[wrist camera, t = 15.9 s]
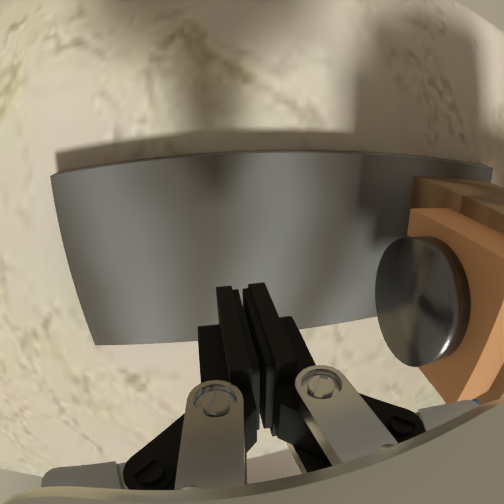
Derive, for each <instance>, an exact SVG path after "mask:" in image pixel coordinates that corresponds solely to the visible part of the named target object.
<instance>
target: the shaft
mask: <svg viewBox="0 0 504 504" xmlns="http://www.w3.org/2000/svg"><path fill="white" fill-rule="evenodd" d="M375 303H376V311H377V317H378V321H379V325H380V329H381V332H382V334H383V337H384V339H385V341H386V343H387V345H388V347H389V349H390V350H391V352H392V353H393V354H394V355H395V357H396V358H397V359H398V360H400V361H401V362H402V363H404V364H406V365H408V366H412V367H419V366H423V365H426V364H429V363H432V362H434V361H437V360H440V359H443V358H445V357H447V356H449V355H450V354H452V353H453V352H454V351H455V350H456V349H457V348H458V346H459V345H460V344H461V342H462V340H463V338H464V336H465V334H466V331H467V328H468V324H469V320H470V312H471V297H470V288H469V283H468V279H467V276H466V273H465V270H464V268H463V266H462V263H461V262H460V260H459V258H458V256H457V255H456V254H455V252H454V251H453V250H452V249H451V248H450V247H449V246H448V245H447V244H446V243H445V242H443V241H442V240H440V239H438V238H435V237H431V236H422V237H409V238H400V239H397V240H395V241H394V242H392V243H391V244H390V245H389V246H388V247H387V248H386V250H385V251H384V253H383V255H382V257H381V260H380V262H379V265H378V269H377V274H376V282H375Z"/></svg>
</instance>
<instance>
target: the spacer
mask: <svg viewBox="0 0 504 504" xmlns="http://www.w3.org/2000/svg"><path fill="white" fill-rule="evenodd" d="M407 235H409V236H410V237H422V236H431V237H435V238H438V239H440V240H442V241H443V242H445V243H446V244H447V245H448V246H449V247H450V248H451V249H452V250H453V251H454V252H455V254H456V255H457V256H458V258H459V260H460V262H461V263H462V266H463V268H464V270H465V273H466V276H467V279H468V283H469V288H470V297H471V312H470V320H469V324H468V328H467V331H466V334H465V336H464V338H463V340H462V342H461V344H460V345H459V346H458V348H457V349H456V350H455V351H454V352H453V353H452V354H450V355H449V356H447V357H445V358H443V359H440V360H437V361H434V362H432V363H429V364H426V365H423V366H419V367H418V368H419V369H420V370H421V371H422V373H423V374H424V375H425V376H426V378H427V379H428V380H429V381H430V383H431V384H432V385H433V387H434V388H435V389H436V390H437V392H438V393H439V394H440V396H441V397H442V398H443V400H444V401H445V402H446V403H447V404H448V403H453V402H457V401H462V400H472V399H474V398H476V397H478V396H480V395H481V394H483V393H485V392H487V391H488V390H489V389H490V387H491V385H492V384H493V382H494V380H495V378H496V376H497V375H498V373H499V371H500V369H501V367H502V365H503V363H504V235H503V234H502V233H500V232H498V231H496V230H494V229H492V228H490V227H488V226H486V225H484V224H482V223H480V222H477V221H475V220H473V219H471V218H469V217H467V216H465V215H463V214H460V213H458V212H456V211H454V210H452V209H449V208H415V209H410V217H409V224H408V232H407Z"/></svg>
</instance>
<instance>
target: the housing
mask: <svg viewBox="0 0 504 504" xmlns="http://www.w3.org/2000/svg"><path fill="white" fill-rule="evenodd" d="M492 170H493V168H491V167H488V166H485V165H481V164H475V163H468V162H462V161H454V160H447V159H439V158H430V157H421V156H411V155H400V154H387V153H372V152H354V151H324V150H266V151H236V152H217V153H202V154H188V155H177V156H166V157H157V158H148V159H139V160H131V161H123V162H116V163H109V164H102V165H96V166H90V167H84V168H78V169H72V170H67V171H62V172H58V173H56V174H53V175H51V176H50V177H51V184H52V190H53V196H54V202H55V207H56V212H57V217H58V222H59V227H60V231H61V236H62V240H63V244H64V248H65V252H66V256H67V260H68V264H69V268H70V271H71V275H72V278H73V282H74V285H75V288H76V292H77V295H78V298H79V301H80V304H81V307H82V310H83V313H84V316H85V319H86V322H87V324H88V327H89V330H90V333H91V335H92V338H93V341H94V343H95V345H128V344H153V343H171V342H186V341H198V326H206V325H216V324H219V320H218V309H217V297H216V287H221V286H232V289H238V290H239V294H240V298H241V301H242V305H243V288H248V284H252V283H262V282H264V283H265V285H266V287H267V289H268V292H269V294H270V296H271V299H272V301H273V303H274V306H275V308H276V311H277V313H278V315H279V317H285V316H292V318H293V319H294V321H295V323H296V325H297V327H298V329H305V328H312V327H319V326H325V325H331V324H337V323H343V322H349V321H354V320H360V319H365V318H370V317H376V316H377V311H376V303H375V282H376V274H377V269H378V265H379V262H380V260H381V257H382V255H383V253H384V251H385V250H386V248H387V247H388V246H389V245H390V244H391V243H392V242H394V241H395V240H397V239H400V238H409V237H410V236H409V235H407V232H408V224H409V217H410V209H415V208H449V209H452V210H454V211H456V212H458V213H460V214H463V215H465V216H467V217H469V218H471V219H473V220H475V221H477V222H480V223H482V224H484V225H486V226H488V227H490V228H492V229H494V230H496V231H498V232H500V233H502V234H503V235H504V188H502V187H499V186H497V185H494V184H492V183H491V178H492ZM503 398H504V363H503V365H502V367H501V369H500V371H499V373H498V375H497V376H496V378H495V380H494V382H493V384H492V385H491V387H490V389H489V390H488V391H487V392H485V393H483V394H481V395H480V396H478V397H476V399H477V401H478V402H479V403H480V404H481V405H483V404H486V403H488V402H491V401H495V400H498V399H503Z"/></svg>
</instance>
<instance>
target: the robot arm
mask: <svg viewBox="0 0 504 504" xmlns="http://www.w3.org/2000/svg"><path fill="white" fill-rule="evenodd" d="M216 297H217V309H218V320H219V324H216V325H206V326H198V345H199V360H200V374H201V383H200V384H199V385H197V386H196V387H194V388H193V389H192V391H191V392H190V393H189V395H188V398H187V403H186V409H185V413H184V414H183V415H182V416H181V417H180V418H179V419H177V420H176V421H175V422H174V423H173V424H171V425H170V426H169V427H168V428H167V429H165V430H164V431H163V432H162V433H161V434H159V435H158V436H157V437H156V438H155V439H153V440H152V441H151V442H150V443H148V444H147V445H146V446H145V447H143V448H142V449H141V450H140V451H138V452H137V453H136V454H135V455H133V456H132V457H131V458H130V459H129V460H128V461H127V462H126V463H120V464H117V463H116V462H115V461H113V462H107V463H99V464H91V465H82V466H71V467H58V468H54V469H51V470H49V471H48V472H47V473H46V474H45V475H44V477H43V479H42V484H41V488H35V489H31V490H26V491H24V492H21V493H18V494H15V495H13V496H11V497H10V498H9V499H7V500H6V502H5V503H4V504H504V398H503V399H498V400H495V401H491V402H488V403H486V404H483V405H481V406H480V405H479V404H478V403H476V402H475V401H472V400H462V401H457V402H453V403H448V404H444V405H439V406H434V407H428V408H423V409H419V410H418V411H417V413H414V412H412V411H410V410H408V409H405V408H402V407H398V406H395V405H392V404H389V403H386V402H383V401H380V400H377V399H374V398H371V397H368V396H365V395H363V394H360V393H358V392H357V391H356V389H355V388H354V387H353V386H352V384H351V383H350V382H349V381H348V379H347V378H346V377H345V376H344V375H343V374H342V373H341V372H340V371H339V370H337V369H335V368H333V367H330V366H326V365H315V363H314V360H313V358H312V356H311V354H310V352H309V350H308V348H307V346H306V344H305V342H304V340H303V338H302V336H301V333H300V331H299V329H298V327H297V325H296V323H295V321H294V319H293V318H292V316H285V317H279V315H278V313H277V311H276V308H275V306H274V303H273V301H272V299H271V296H270V294H269V292H268V289H267V287H266V285H265V283H264V282H262V283H252V284H248V288H243V305H242V301H241V298H240V294H239V290H238V289H232V286H221V287H216ZM259 413H260V415H261V419H262V423H263V427H264V429H265V428H270V430H271V434H272V436H277V437H278V438H279V439H281V440H283V441H286V442H287V445H288V448H289V450H290V452H291V454H292V456H293V458H294V460H295V462H296V464H297V465H298V467H299V469H300V471H301V473H302V474H300V475H296V476H291V477H286V478H281V479H276V480H270V481H265V482H259V483H252V484H247V452H248V451H249V450H250V448H251V447H252V446H253V445H254V444H255V443H256V442H257V430H259Z"/></svg>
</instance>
